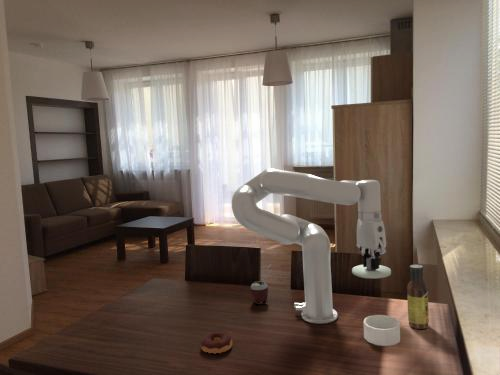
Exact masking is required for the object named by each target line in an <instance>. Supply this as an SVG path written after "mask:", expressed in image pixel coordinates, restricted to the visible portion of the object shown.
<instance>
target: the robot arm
mask: <svg viewBox="0 0 500 375" xmlns="http://www.w3.org/2000/svg"><path fill="white" fill-rule="evenodd" d="M271 194H273V195H280V196H287V197H288V196H289V197H295V198H301V199H306V200H312V201H318V202H324V203H329V204H336V205H344V206H352V205H356V203H357V212H358V213H357V214H358V215H357V216H358V219H357V221H356V222H357V224H356V247H357V248H358V249H359V250H360V252H361V256H362V265H363V267H366V258H368V257H372V258H371V269H372V270H375V269H379V265H380V259H381V256H382V255H383V254H385V253H387V250H386V247H387V239H386V238H387V237H386V229H385V224H384V221H383V220H382V217H383V215H382V211H381V210H382V207H381V206H382V205H381V184H380V181H379V180H376V179H362V180H349V179H347V180H340V181H339V180H333V179H327V178H323V177H319V176H316V175H313V174H310V173H304V172H297V171H291V170H285V169H284V170H283V169H277V168H275V167H268V168H265V169H264V170H263V171H261V172H260V173H259V174H257V175H256V176H254V177H253V178H251V179H250V180H249V181H247V182H245V183H243V185H241V186H240V187H238V189H236V190H235V192H234V193H233V195H232V198H231V209H232V213H233V214H232V215H233V216H234V218H235V220H236V221H237V223H239V224H240V225H241V226H242V227H243V228H245V229H247V230H249V231H251V232H253V233H257V234H259V235H261V236H264V237H265V238H268V239H270V240H273V241H275V242H278V243H280V244H283V245H293V244H296V245H299V246H301V250H302V267H303V270H302V272H303V283H304V284H303V286H304V302H301V303H300V302H294V304H293V307H294V309H295V311H301V318H302V319H303V320H304V321H306V322H307V323H311V324H320V325H322V324H328V323H329V324H330V323H332V322H334V321H336V320H337V319H338V312H337V311H336V310H335V309H334V308H333V306H334V305H333V287H332V285H333V284H332V272H331V270H332V268H331V251H332V250H331V249H332V248H331V241H330V238H329V236H328V234H327V232H326V231H325V230H324V229H323V227H321V226H320V225H318V224H316V223H313V222H310V221H308V220H306V219H303V218H301V217H298V216H295V215H292V214H288V213H285V214H280V215H277V214H275V213H272V212H270V211H268V210H265V209H262V208H259V207H258V206H257V203H260V202H261V201H262V200H263V199H265V198H267V197H268V196H269V195H271Z"/></svg>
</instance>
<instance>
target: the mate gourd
mask: <svg viewBox="0 0 500 375" xmlns="http://www.w3.org/2000/svg"><path fill="white" fill-rule="evenodd" d="M271 266H272V264H269V265H268V266H267V268H265V271H264V275H263V278H262V281H254V282H253V283H251V285H250V289H249V290H250V296H251V298H252V300H253V301H256V303H255V305H256V304H258V303H260V302H262V303H267V304H268V297H269V296H268V295H269V287H268V284H267V283H266V282H265V278H266V275H267V272H268V270H269V269H270V268H271Z"/></svg>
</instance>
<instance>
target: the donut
mask: <svg viewBox="0 0 500 375" xmlns="http://www.w3.org/2000/svg"><path fill="white" fill-rule="evenodd" d="M200 347H201V350H202V351H203V352H205V353H207V352H208V354H211V353H214V354H213V355H215V354H216V353H219V354H223V353H226V352H227V351H230V349H231V348H232V347H233V337H232V335H231V333H229V332H226V331H214V332H209V333H207V334H206V335H204V336H203V337H202V338H201V341H200ZM222 352H223V353H222ZM216 355H217V354H216Z"/></svg>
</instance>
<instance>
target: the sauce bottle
mask: <svg viewBox="0 0 500 375" xmlns="http://www.w3.org/2000/svg"><path fill="white" fill-rule="evenodd" d="M409 271H410V281H409V282H408V283H407V286H406V287H407V288H406V289H407V293H406V295H407V317H408V318H407V319H408V325H409V326H410V327H411V328H414V329H417V330H424V329H427V328H428V327H429V321H430V314H429V313H430V312H429V290H428V287H427V286H426V283H425V280H424V266H423V265H420V264H411V265H409Z"/></svg>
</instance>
